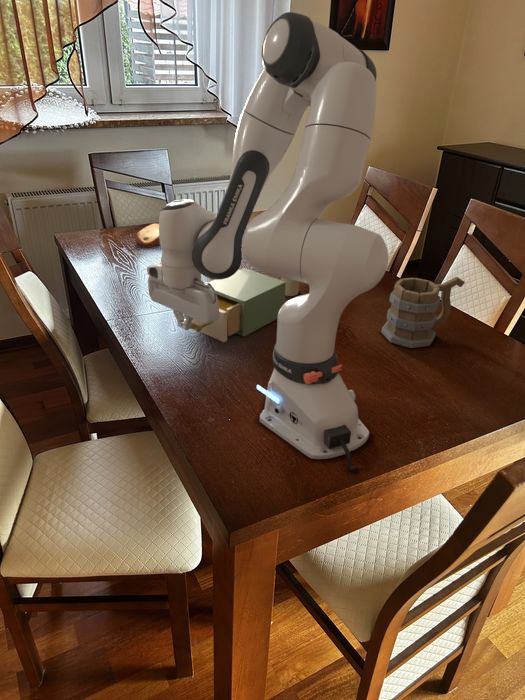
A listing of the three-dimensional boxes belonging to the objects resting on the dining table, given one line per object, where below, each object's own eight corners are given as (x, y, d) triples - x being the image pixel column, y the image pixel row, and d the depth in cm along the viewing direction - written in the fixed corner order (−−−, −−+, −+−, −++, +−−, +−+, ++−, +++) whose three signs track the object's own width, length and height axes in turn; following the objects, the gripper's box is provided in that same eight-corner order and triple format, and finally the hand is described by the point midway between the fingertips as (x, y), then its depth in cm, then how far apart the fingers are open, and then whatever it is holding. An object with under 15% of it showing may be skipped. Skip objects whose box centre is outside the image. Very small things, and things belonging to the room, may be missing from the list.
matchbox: (242, 322, 135) (242, 307, 133) (227, 329, 131) (227, 314, 129) (218, 312, 140) (218, 298, 138) (203, 319, 136) (203, 304, 134)
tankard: (397, 350, 129) (407, 294, 121) (374, 326, 139) (382, 274, 132) (468, 341, 134) (482, 287, 126) (440, 319, 144) (452, 268, 137)
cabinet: (243, 336, 133) (244, 301, 128) (202, 318, 141) (201, 285, 136) (284, 315, 144) (285, 281, 139) (243, 299, 152) (243, 267, 147)
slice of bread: (162, 227, 209) (161, 218, 207) (186, 239, 197) (186, 229, 195) (120, 235, 199) (119, 226, 197) (144, 248, 187) (143, 238, 185)
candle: (297, 297, 155) (299, 265, 150) (278, 295, 156) (280, 263, 151) (299, 289, 159) (301, 258, 154) (281, 287, 160) (283, 256, 155)
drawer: (208, 350, 124) (207, 321, 120) (169, 332, 132) (167, 304, 128) (264, 320, 139) (265, 293, 135) (226, 305, 146) (226, 279, 142)
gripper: (225, 281, 115) (225, 336, 122) (162, 259, 126) (166, 310, 133) (205, 290, 111) (206, 347, 118) (141, 266, 122) (146, 319, 129)
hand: (184, 327), depth 125 cm, fingers closed, pressing on drawer
